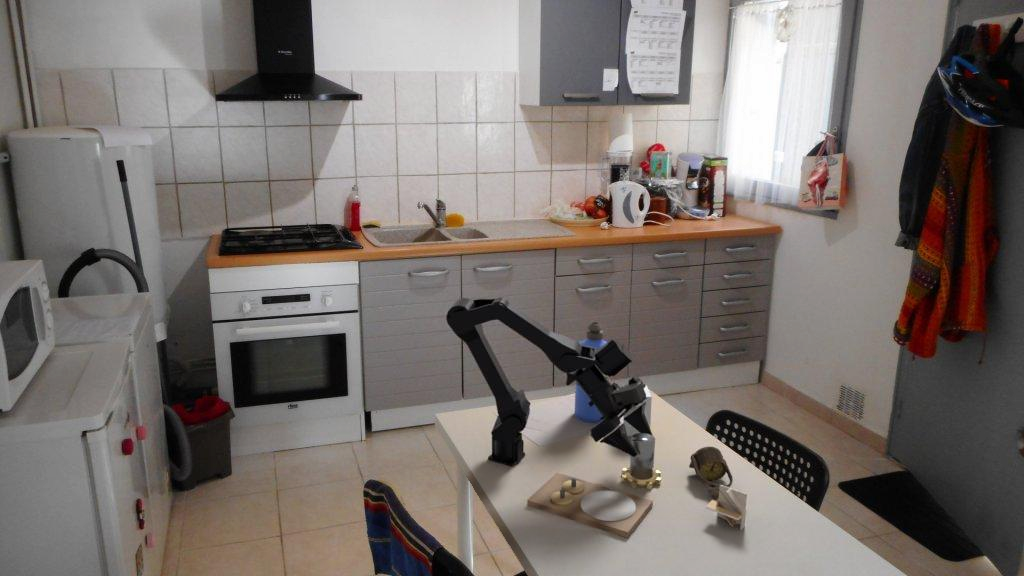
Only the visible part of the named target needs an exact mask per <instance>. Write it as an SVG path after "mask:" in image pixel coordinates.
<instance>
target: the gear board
mask: <svg viewBox="0 0 1024 576" xmlns="http://www.w3.org/2000/svg"><path fill="white" fill-rule="evenodd" d="M653 501H654V500H652V499H649V498H645V497H643V496H642V497H641V496H638V495H635V494H632V493H629V492H624V491H621V490H618V489H616V488H615V489H614V488H611V487H607V486H604V485H601V484H596V483H593V482H591V481H587V480H583V479H580V478H577V477H574V476H570V475H567V474H562V473H560V472H556V473H554V474H553V476H552V477H551V478H549V479H547V481H546V482H545V483H544V484H543V485H542V486H541V487H540V488H538V489H537V490H536V491H535V492H534V493H533V494H532V495H531V496H530V497H529V498H528V499H527V500H526V505H527V506H528V507H531V508H535V509H538V510H541V511H545V512H548V513H550V514H553V515H557V516H560V517H562V518H566V519H569V520H571V521H574V522H578V523H580V524H584V525H588V526H590V527H593V528H597V529H600V530H603V531H606V532H608V533H611V534H615V535H618V536H621V537H624V538H626V539H628V538H629V537H630V536H631V535H632V533H633V531H634V530H635V529H636V528H637V527H638V525H639V524H640V523H641V522H642V520H643V519H644V517H645V516H646V515H647V514H648V512H649V511H650V510H651V509H652V507H653V503H654V502H653Z"/></svg>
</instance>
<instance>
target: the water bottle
mask: <svg viewBox="0 0 1024 576" xmlns="http://www.w3.org/2000/svg"><path fill="white" fill-rule="evenodd" d="M586 328H587V330H586V339H585V340H584V339H583V340H581V341H577V342H578V343H580V344H581V345H583V346H588V347H593V348H596V349H597V350H598V349H600V348H601V347H602V346H603V345H605V344H606V343H607V342H608V341H605V340H604V331H603V329H604V327H603V326H602V324H600V323H599V322H597V321H594V322H591V323H590V324H588V326H587V327H586ZM595 365H596V366H597V364H595ZM597 367H598V366H597ZM598 368H599V367H598ZM599 370H600V369H599ZM600 371H601V370H600ZM601 372H602V371H601ZM603 375H604V376H605V377H606V378H607V380H608V381H609V382H610V383H611V376H610V377H609V376H606V375H605V374H603ZM608 381H607V382H608ZM607 382H606V383H607ZM574 388H575V391H574V393H575V394H574V417H575V418H576V419H578V420H580V421H581V422H586V423H592V424H593V423H594V424H595V423H596V424H598V423H599V422H600V421H601V419H600V418H601V417H602V414H601V413H600V412H599V410H598V409H597V408H596V407H595V405H593V406H591V407H590V405H589V404H588V403H589V402H590V401H591V400H590V399H589V398H588V397H589V396H587V395H586V394H585V392H584V391H583V390H582V389H581V387H580V386H579V385H578V384H577V382H576V381H575V387H574Z"/></svg>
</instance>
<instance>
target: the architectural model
mask: <svg viewBox="0 0 1024 576" xmlns="http://www.w3.org/2000/svg"><path fill="white" fill-rule="evenodd" d="M719 485H720V488H719V499H717V498H716V500H713V499H711V501H709V502H708V503H707V504H706V505H705V509H706V510H710V511H712V512H715V513H716V517H718V518H720V519H723V520H726V521H727V523H728V524H729V525H730V527H734V525H735V524H738V525H740V526H739V527H740V528H739V530H740V531H742V530H743V529H744V528H745V524H746V516H747V499H748V493H746V492H743V491H741V490H737V489H735V488H731V487H730V488H729V487H726V486H725V485H722V484H719Z"/></svg>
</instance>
